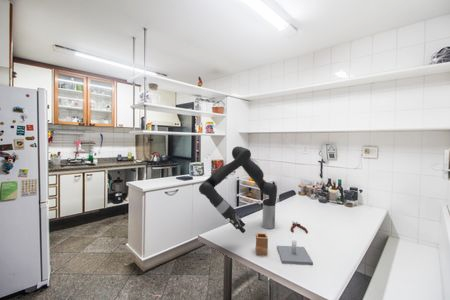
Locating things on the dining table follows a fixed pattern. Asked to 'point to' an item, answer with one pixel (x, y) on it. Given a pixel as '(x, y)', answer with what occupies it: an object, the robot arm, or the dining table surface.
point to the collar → (261, 244)
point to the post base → (294, 255)
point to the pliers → (298, 226)
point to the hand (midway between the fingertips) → (244, 228)
